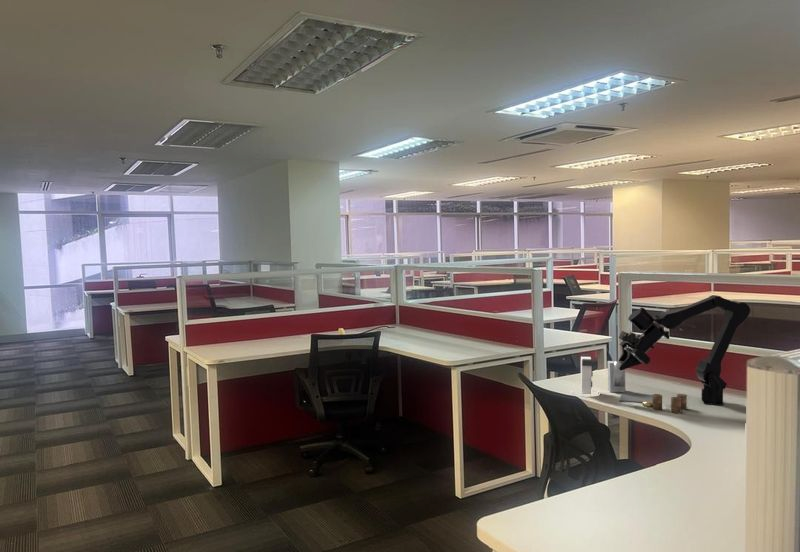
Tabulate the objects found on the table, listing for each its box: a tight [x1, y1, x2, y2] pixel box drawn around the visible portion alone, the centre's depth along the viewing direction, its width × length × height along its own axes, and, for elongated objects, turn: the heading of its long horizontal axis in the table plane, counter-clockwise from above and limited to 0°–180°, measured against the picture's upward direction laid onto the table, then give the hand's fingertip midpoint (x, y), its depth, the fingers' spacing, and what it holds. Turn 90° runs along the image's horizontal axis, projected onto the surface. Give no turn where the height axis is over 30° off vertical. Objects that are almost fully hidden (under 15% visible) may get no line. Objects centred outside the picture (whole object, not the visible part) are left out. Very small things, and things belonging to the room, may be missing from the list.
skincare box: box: [607, 360, 626, 393], centre depth 233 cm, size 6×4×12 cm
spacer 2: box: [670, 396, 682, 414], centre depth 203 cm, size 3×3×5 cm
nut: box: [642, 401, 653, 408], centre depth 212 cm, size 4×4×2 cm
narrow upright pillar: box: [570, 353, 601, 394], centre depth 230 cm, size 12×11×15 cm
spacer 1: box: [652, 393, 663, 411], centre depth 208 cm, size 3×3×5 cm
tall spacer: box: [613, 360, 626, 387], centre depth 216 cm, size 4×4×9 cm
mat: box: [619, 391, 653, 404], centre depth 221 cm, size 12×12×1 cm
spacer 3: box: [676, 393, 688, 411], centre depth 207 cm, size 3×3×5 cm
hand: (618, 368), depth 216 cm, fingers closed on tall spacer, 4 cm apart
